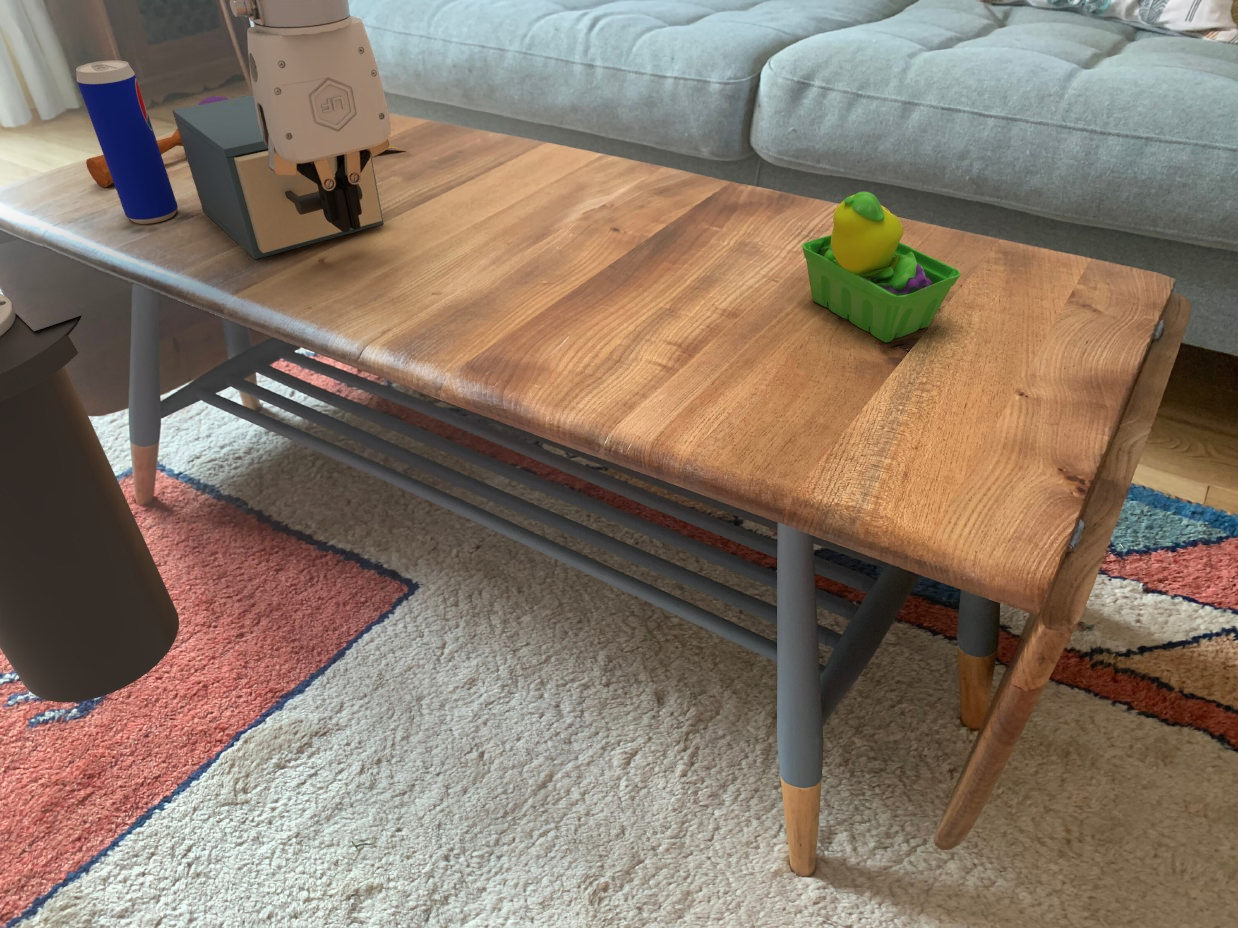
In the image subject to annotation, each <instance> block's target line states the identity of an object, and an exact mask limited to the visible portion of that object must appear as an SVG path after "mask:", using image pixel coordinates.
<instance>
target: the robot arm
mask: <svg viewBox="0 0 1238 928" xmlns="http://www.w3.org/2000/svg"><path fill="white" fill-rule="evenodd" d="M229 6H230V10H231V12H232V14H233V16H234V17H235V18H239V17H244V18H246V19H247V18H248V19H249V21H250V22H252V24H253V26H250V27H248V28H247V30H246V32H247V39H246V40H247V55H248V65H249V67H248V68H249V76H250V83H251V91H252V95H253V96H254V102H255V108H256V113H257V118H258V122H259V127H260V131H261V134H262V138H263V140H264V143H265V145H266V146H267V148H268V159H269V168H270V170H272V171H273V172H274V173H276V174H277V175H303V176H305V177H307V178H308V179H310V180H311V181H313V182H314V183H316V184H317V185H318V190H319V194H320V199H321V203H322V208H323V212H324V216H325V218H326V220H327V221H328V222H330V223H331V224H332V225H334V226H335V227H337V228H338V229H339V230H341V231H342V232H348V231H350V229H351V228H352V229H359V228H360V227H361V226H360V220H359V215H361V214H362V210H361V204H360V199H359V194H358V189H357V183H359V182H360V179H361V172H362V171H363V169H364V167H365V166H366V164H367V162H368V161H369V159H370V158H371V157H372V158H375V157H376V156H378V155H379V154H382V153H383V152H386V151H387V150H388V148H389V146H391V144H390V141H389V138H390V137H391V136H392V135H391V134H392V128H391V127H392V126H391V119H390V113H389V108H388V103H387V98H386V95H385V91H384V87H383V83H382V79H381V75H380V71H379V67H378V64H377V61H376V58H375V55H374V51H373V48H372V45H371V42H370V39H369V35H368V33H367V31H366V27H365V26H364V23H363V19H361V18H360V17H357V16H352V15H351V11H350V4H349V0H229ZM389 149H390V148H389ZM330 157H334V162H335V172H336V173H335V177H334V176H333V173H332V171H331V168H330V165H329V163H328V160H327V158H330ZM16 314H17V312H16V310H15V307H14V304H13V303H12V301H11V300H10V299H9V298H8V297H7V296H6V295H3V294H2V293H0V336H2V335H3V334H4V333H5V332H6V331H7V330H8V329H9V328H10V327H11V326H12V324H13V322H14V321H15V317H16Z"/></svg>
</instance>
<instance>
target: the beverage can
mask: <svg viewBox="0 0 1238 928" xmlns="http://www.w3.org/2000/svg"><path fill="white" fill-rule="evenodd" d="M75 71H76V72H75V73H76V82H77V86H78V88H79V91H80V93H81V96H82V99H83V102H84V104H85V108H86V111H87V113H88V117H89V119H90V121H91V125H92V127H93V130H94V132H95V135H96V138H97V141H98V143H99V146H100V149H101V151H102V155H104V157H105V160H106V163H107V166H108V168H109V171H110V174H111V177H112V179H113V182H114V183H113V185H114V187H115V190H116V194H117V195H118V199H119V201H120V204H121V207H122V210H123V212H124V215H125V217H126V218H127V219H129V220H130V221H132V222H133V223H135V224H140V225H150V224H158V223H162V222H164V221H167V220H170V219H171V218H173V217H174V216H175V215H176V214H177V213H176V212H177V211H178V207H179V205H178V201H177V199H176V196H175V193H174V190H173V187H172V184H171V181H170V177H169V175H168V172H167V169H166V166H165V162H164V160H163V157H162V156H163V155H161V153H160V150H159V147H158V144H157V137H156V134H155V132H154V131H155V130H154V128H153V125H152V122H151V118H150V116H149V113H148V109H147V106H146V104H145V103H146V102H145V100H144V98H143V94H142V92H141V88H140V85H139V82H138V79H137V76H136V72H135V71H134V70H133V68H132V67H131V65H130V63H129V62H128V61H125V60H117V59H115V60H114V59H112V60H110V59H109V60H99V61H94V62H89V63H84V64H82V65H79V66H77V67H76V69H75Z"/></svg>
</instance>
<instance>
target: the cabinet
mask: <svg viewBox="0 0 1238 928" xmlns="http://www.w3.org/2000/svg"><path fill="white" fill-rule="evenodd" d="M228 99H229V100H223V101H218V102H212V103H207V104H202V105H198V104H197V105H192V106H191V105H190V106H186V107H181V108H176V109H172V110H171V111H172V114H173V118H174V121H175V124H176V127H177V128H178V131H179V134H180V137H181V141H182V144H183V146H182V147H183V150H184V153H185V157H186V160H187V163H188V167H189V170H190V173H191V177H192V179H193V182H194V186H195V189H196V192H197V197H198V199H199V202H200V203H199V204H200V206H201V209H202V212H203V213H204V214H205V215H206V216H207V217H209V219H210V220H211V221H212V222H213V223H215V224H216V225H217V226H218V227H219V228H220V229H221V230H222V231H223V232H224V233H225V234H226V235H228V236H229V237H230V238H231V239H232V240H234V242H235V243H236V244H237V245H238V246H239V247H240V248H242V249H243V250H244V251H245V252H246V253H247V254H248V255H249V256H250V257H251V258H252V259H253V260H258V259H259V260H260V259H263V258H266V257H269V256H274V255H277V254H281V253H285V252H288V251H291V250H292V251H293V250H294V249H295V250H296V249H299V248H302V247H305V246H309V245H310V246H311V245H313V244H317V243H320V242H325V241H327V240H332V239H335V238H338V237H339V238H340V237H343V236H346V235H350V234H353V233H357V232H360V231H364V230H367V229H372V228H375V227H378V226H382V225H384V224H385V223H384V217H383V213H382V207H381V203H380V196H379V191H378V190H379V189H378V186H377V179H376V174H375V169H374V163H373V157H371V163H372V168H373V174H374V179H375V185H376V190H377V196H378V201H379V207H380V212H381V218H382V221H379V222H375V223H372V224H368V225H365V226H361V227H360V228H359V229H350V231H348V232H339V233H335V234H332V235H328V236H324V237H321V238H317V239H313V240H310V241H306V242H302V243H299V244H295V245H291V246H288V247H284V248H280V249H277V250H273V251H269V252H266V253H262V252H261V251H260V250H259V248H258V245H257V241H256V237H255V234H254V230H253V227H252V223H251V219H250V216H249V212H248V208H247V205H246V201H245V197H244V194H243V190H242V187H241V183H240V179H239V176H238V172H237V168H236V165H235V161H234V158H235V156H237V155H242V154H246V153H251V152H256V151H260V150H265V149H268V148H267V146H266V145H265V143H264V140H263V138H262V134H261V131H260V127H259V122H258V118H257V113H256V108H255V102H254V96H253V94H252V95H246V96H240V97H235V98H228ZM177 128H176V129H177Z"/></svg>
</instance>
